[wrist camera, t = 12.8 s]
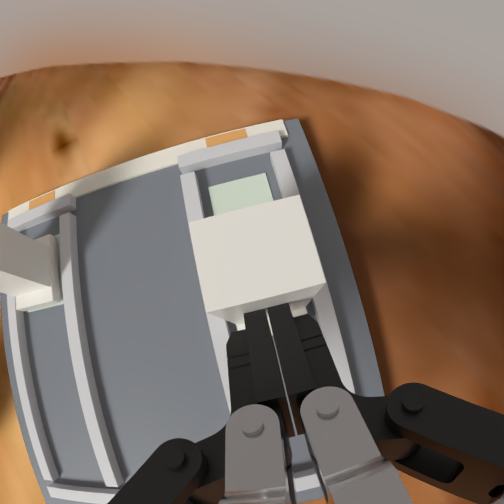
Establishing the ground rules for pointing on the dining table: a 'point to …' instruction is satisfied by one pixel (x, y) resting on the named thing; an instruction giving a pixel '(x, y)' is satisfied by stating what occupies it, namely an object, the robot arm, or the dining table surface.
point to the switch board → (159, 310)
